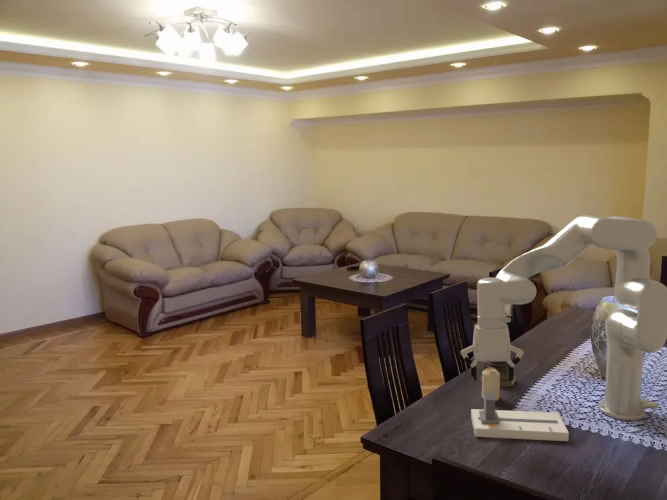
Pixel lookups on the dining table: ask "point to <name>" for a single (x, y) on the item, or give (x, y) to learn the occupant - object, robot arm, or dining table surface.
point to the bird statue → (502, 365)
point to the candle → (491, 382)
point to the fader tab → (489, 409)
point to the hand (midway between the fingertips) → (492, 378)
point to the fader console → (521, 425)
